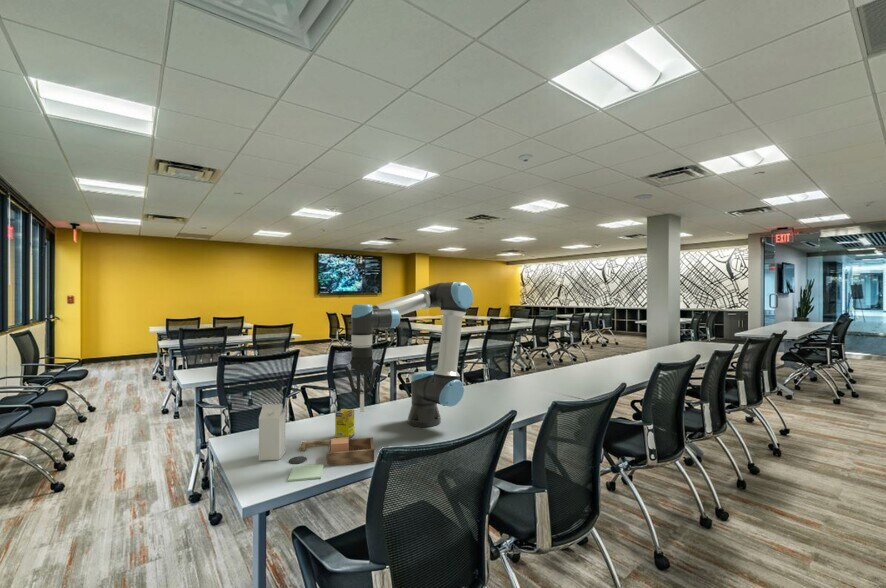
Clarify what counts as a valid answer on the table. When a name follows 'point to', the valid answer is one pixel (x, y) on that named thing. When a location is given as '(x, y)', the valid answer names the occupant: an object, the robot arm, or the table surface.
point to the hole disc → (297, 460)
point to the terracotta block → (339, 444)
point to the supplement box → (344, 423)
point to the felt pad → (306, 472)
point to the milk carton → (271, 432)
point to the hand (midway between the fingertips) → (362, 410)
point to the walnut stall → (353, 452)
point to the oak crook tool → (313, 444)
